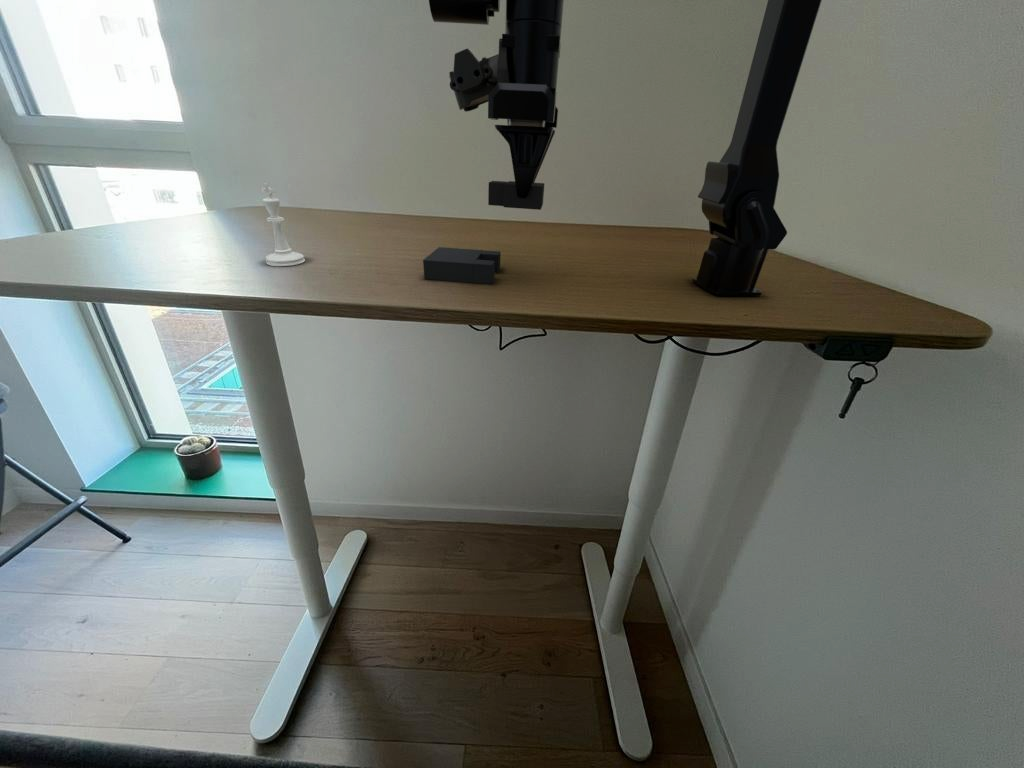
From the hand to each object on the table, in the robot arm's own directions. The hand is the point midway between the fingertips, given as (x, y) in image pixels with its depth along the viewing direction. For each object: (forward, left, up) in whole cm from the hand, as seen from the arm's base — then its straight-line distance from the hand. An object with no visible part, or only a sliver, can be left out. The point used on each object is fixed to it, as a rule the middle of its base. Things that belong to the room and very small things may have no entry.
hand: (523, 195), depth 49 cm
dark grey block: (0, 0, -1) cm, 1 cm away
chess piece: (+32, -8, -11) cm, 35 cm away
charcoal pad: (+7, -2, -10) cm, 13 cm away
